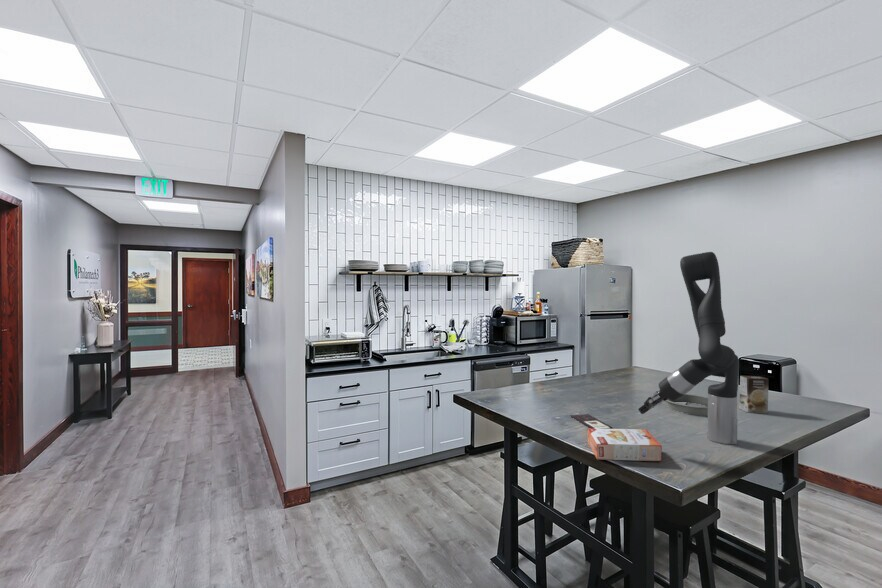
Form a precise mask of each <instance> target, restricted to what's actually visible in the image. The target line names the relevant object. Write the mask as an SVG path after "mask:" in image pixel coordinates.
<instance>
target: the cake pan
mask: <svg viewBox="0 0 882 588" xmlns="http://www.w3.org/2000/svg"><path fill="white" fill-rule="evenodd" d="M675 402H689V403H688V405H683V404H679V403H675ZM664 403H665V406H667V407H668V409H669V408H670V409H669V410H671V409H672V410H671V411H674V410H675V411H674V412H677V411H678V413H681V412H683V413H682V414H686V413H688V415H692V414H695V415H694V416H708V407H707V406H708V396H702V395H696V394H691V393H690V394H689V393H686V394H685V395H683V396H682V397H680V398H679V399H678V400H676V401H673V400H670V399H668V400H667V401H665V402H664ZM692 403H696V404H695V405H690V404H692ZM698 404H701V405H700V406H698ZM696 405H697V406H696ZM703 405H705V406H703Z"/></svg>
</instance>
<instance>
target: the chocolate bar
mask: <svg viewBox="0 0 882 588" xmlns="http://www.w3.org/2000/svg"><path fill="white" fill-rule="evenodd" d="M570 416H571V417H570ZM569 417H570V418H572V419H573V418H574V420H575V419H576V420H575V421H577V422H578V421H579V422H578V423H580V424H582V425H583V426H585V427H587V429H588V428H598V429H614V428H613V427H612V425H609V424H607V423H605V422H603V421H601V420H600V419H598V418H596V417H594V416H592V415H590V414H589V413H587V414H572V415H569Z"/></svg>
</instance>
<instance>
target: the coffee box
mask: <svg viewBox="0 0 882 588" xmlns="http://www.w3.org/2000/svg"><path fill="white" fill-rule="evenodd" d="M739 377H740V378H739V400H738V401H739V406H738V408H739V410H742V411H743V412H746V413H754V414H755V413H757V414H768V413H769V412H768V411H769V384H770V383H769V381H770V380H769V378H767V377H764V376H760V375H740V376H739Z"/></svg>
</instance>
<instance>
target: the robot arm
mask: <svg viewBox="0 0 882 588" xmlns="http://www.w3.org/2000/svg"><path fill="white" fill-rule="evenodd" d="M679 264H680V265H679V266H680V271H681V275H682V277H683V281H684V284H685V288H686V290H687V293H688V297H689V301H690V302H689V303H690V306H691V307H690V308H691V311H692V317H693V320H694V325H695V328H696V331H697V332H696V333H697V334H698V335H697V336H698V354H699V356H700V357H699V359H696V358H695V359H690V360H688V361H687V362H686V363H684V364H683V365H681V367H679V368H678V369H676V370H674V371H673V372H671V373H670V374H669V375H667V376H666V377H664V378H663V379H662V380H661V381H660V382H659V383H658V388H659V390H657V391H654V393H653V394H652V395H651V396H650V397H649V396H648V398H647V399H646V400H645V401H643V405H642V406H640V407H639V408H638V411H639V413H640V414H641V415H644V414H646V413H647V412H649V411H650V410H652V409H654V408H655V407H658V406H660V405H662V404H663V403H665V401H667V400H668V399H670V400H673V401H676V400H678V399H679V398H680V397H682V396H683V395H685V394H688V393H689V392H690V391H692V390H693V389H694V387H696V386H697V385H698V384H700V383H701V382H703V381H704V380H705V379H706V378H708V377H711V376H713V377H719V378H724V382H721V383H715V384H711V385H708V387H707V397H708V415H707V423H706V424H707V425H706V427H707V428H706V429H707V432H706V436H707V439H708V440H710V441H712V442H715V443H717V444H718V443H719V444H724V445H738V389H739V375H740V374H739V373H740V372H739V371H740V359H739V356H738V355H737V354H736V352H735V351H734V350H733V349H732V348H731V347H730V346H727V345H724V344H721V338H722V337H723V336H725V335H726V322H725V320H726V319H725V317H724V311H723V306H722V288H721V274H720V273H721V272H720V266H719V260H718V257H717V256H716V254H715V252H713V251H706V252H701V253H695V254H691V255H690V254H689V255H685V256H683V257H681V258H680V263H679ZM703 280H704V281H705V280H709V285H708V288H707V291H706V293H705V292H704V290H702V289H701V287H700V286H699V285H698V283H697V281H703Z"/></svg>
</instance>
